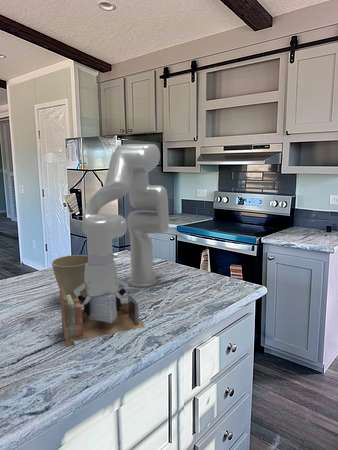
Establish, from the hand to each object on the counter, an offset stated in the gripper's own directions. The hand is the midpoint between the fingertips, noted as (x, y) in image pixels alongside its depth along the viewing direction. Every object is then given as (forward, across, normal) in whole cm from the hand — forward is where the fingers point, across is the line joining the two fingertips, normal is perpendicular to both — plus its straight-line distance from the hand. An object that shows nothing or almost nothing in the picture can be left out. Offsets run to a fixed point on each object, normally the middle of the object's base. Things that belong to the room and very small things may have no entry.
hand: (102, 311), depth 111 cm
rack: (+6, 0, 0) cm, 6 cm away
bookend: (+5, -10, 0) cm, 11 cm away
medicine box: (+3, 0, 0) cm, 3 cm away
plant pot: (+6, +5, -28) cm, 29 cm away
